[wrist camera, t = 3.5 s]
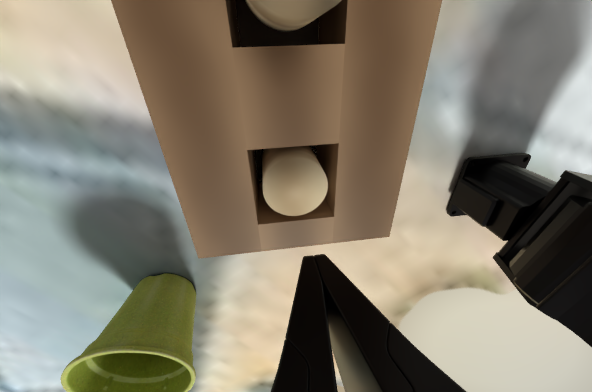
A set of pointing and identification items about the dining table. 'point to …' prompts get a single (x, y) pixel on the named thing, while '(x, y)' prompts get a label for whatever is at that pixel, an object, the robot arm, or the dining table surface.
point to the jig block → (281, 114)
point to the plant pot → (142, 343)
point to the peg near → (289, 12)
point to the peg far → (293, 180)
